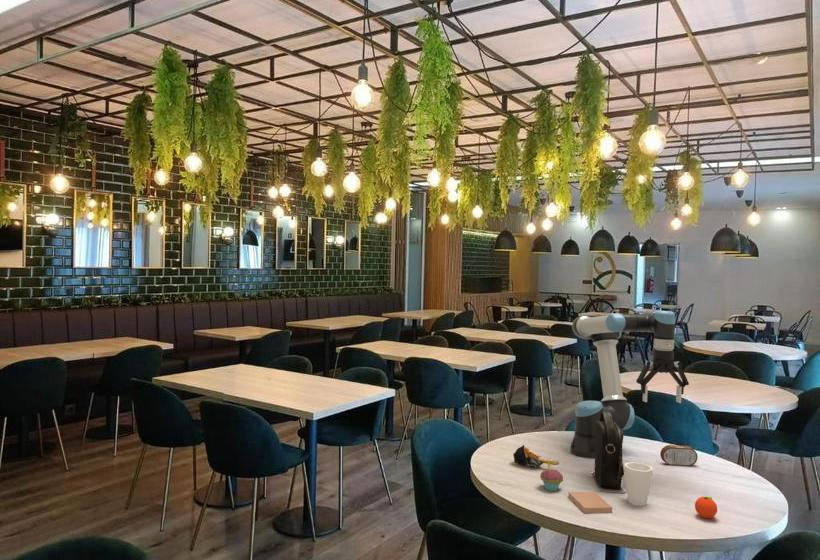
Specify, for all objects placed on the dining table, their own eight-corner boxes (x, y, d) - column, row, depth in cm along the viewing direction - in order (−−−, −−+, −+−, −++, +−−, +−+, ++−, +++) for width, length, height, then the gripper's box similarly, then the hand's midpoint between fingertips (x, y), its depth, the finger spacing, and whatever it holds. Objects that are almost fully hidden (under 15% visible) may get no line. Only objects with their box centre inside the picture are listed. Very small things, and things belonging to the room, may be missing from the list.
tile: (594, 491, 212) (568, 492, 211) (612, 507, 199) (584, 508, 197) (594, 497, 212) (568, 498, 211) (612, 513, 199) (584, 514, 197)
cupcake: (549, 494, 213) (550, 462, 213) (535, 486, 221) (536, 455, 221) (567, 490, 217) (568, 459, 217) (552, 483, 225) (553, 452, 224)
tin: (695, 464, 250) (696, 445, 250) (698, 467, 247) (698, 448, 247) (659, 462, 252) (660, 444, 252) (662, 465, 249) (662, 446, 248)
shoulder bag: (589, 471, 239) (591, 404, 239) (612, 472, 238) (614, 405, 237) (600, 491, 217) (602, 418, 216) (625, 493, 216) (627, 420, 215)
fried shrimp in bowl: (512, 449, 251) (552, 439, 248) (519, 474, 247) (560, 465, 243) (509, 446, 243) (550, 436, 240) (516, 473, 238) (558, 463, 235)
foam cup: (650, 499, 211) (651, 464, 211) (652, 509, 202) (653, 472, 202) (622, 495, 214) (624, 461, 214) (623, 504, 205) (625, 469, 205)
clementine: (700, 510, 202) (701, 490, 202) (721, 517, 197) (722, 496, 197) (690, 516, 197) (691, 496, 197) (712, 523, 192) (713, 502, 192)
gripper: (636, 350, 226) (634, 403, 226) (699, 351, 226) (697, 404, 226) (629, 347, 233) (627, 398, 234) (690, 348, 233) (688, 400, 234)
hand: (661, 402), depth 230 cm, fingers open, 13 cm apart
